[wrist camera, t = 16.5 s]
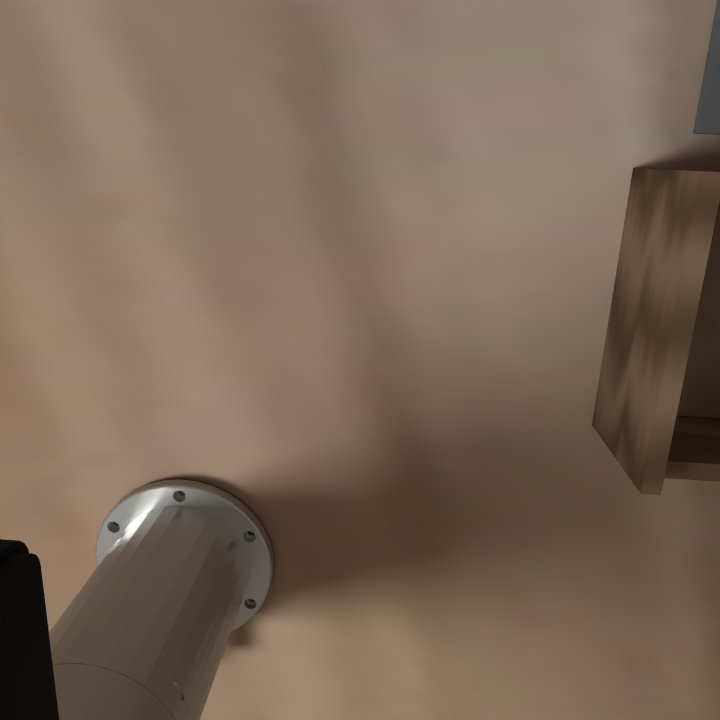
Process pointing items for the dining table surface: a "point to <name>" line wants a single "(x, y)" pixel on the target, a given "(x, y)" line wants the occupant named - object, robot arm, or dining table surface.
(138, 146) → the dining table surface
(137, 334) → the dining table surface
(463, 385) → the dining table surface
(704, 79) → the charcoal mat
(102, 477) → the dining table surface
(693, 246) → the walnut rack
